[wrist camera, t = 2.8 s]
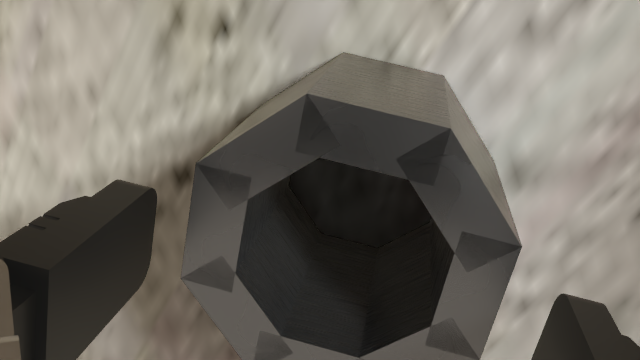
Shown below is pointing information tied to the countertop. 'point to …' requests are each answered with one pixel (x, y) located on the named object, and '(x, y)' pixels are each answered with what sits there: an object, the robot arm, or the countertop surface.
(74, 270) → the robot arm
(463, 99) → the countertop surface
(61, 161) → the countertop surface
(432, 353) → the ring
